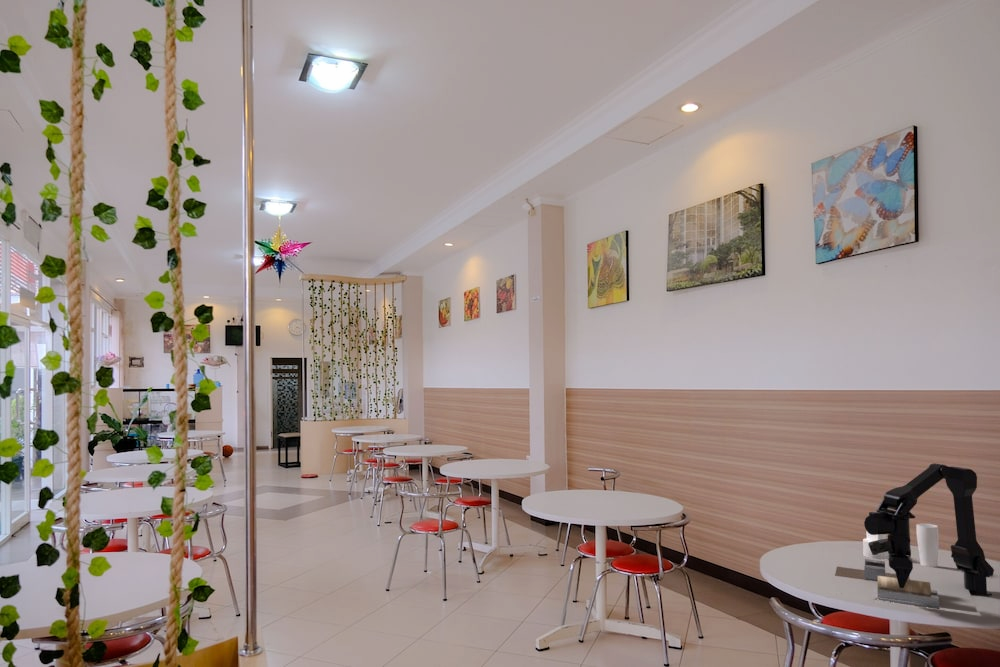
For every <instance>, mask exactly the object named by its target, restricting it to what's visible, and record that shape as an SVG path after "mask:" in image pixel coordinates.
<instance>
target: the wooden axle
mask: <svg viewBox="0 0 1000 667" xmlns="http://www.w3.org/2000/svg"><path fill="white" fill-rule="evenodd" d="M877 588H883V589H890V590H898V591H905V592H912V593H920V594H927V595H931V590H932V587H931V582H930V581H922V580H916V579H915V580H914V579H909V580H908V579H907V582H906V584H905V586H904V588H899V584H898V580H897V578H892V577H884V576H878V581H877Z"/></svg>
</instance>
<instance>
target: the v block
mask: <svg viewBox="0 0 1000 667" xmlns="http://www.w3.org/2000/svg"><path fill="white" fill-rule="evenodd" d="M876 590H877V600H878V599H879V600H883V601H882V602H886V601H890V602H889V603H893V602H894V604H900V605H908V606H913V605H914V606H915V607H920V606H921V608H922V607H923V608H927V607H928V609H934V610H935V609H936V610H940V597H939V595H938V594H939V592H938V590H934V589H931V595H927V594H920V593H912V592H905V591H898V590H890V589H883V588H878V587H877V588H876ZM879 600H878V601H879Z"/></svg>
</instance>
